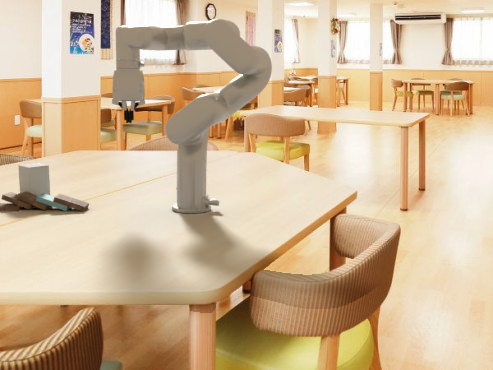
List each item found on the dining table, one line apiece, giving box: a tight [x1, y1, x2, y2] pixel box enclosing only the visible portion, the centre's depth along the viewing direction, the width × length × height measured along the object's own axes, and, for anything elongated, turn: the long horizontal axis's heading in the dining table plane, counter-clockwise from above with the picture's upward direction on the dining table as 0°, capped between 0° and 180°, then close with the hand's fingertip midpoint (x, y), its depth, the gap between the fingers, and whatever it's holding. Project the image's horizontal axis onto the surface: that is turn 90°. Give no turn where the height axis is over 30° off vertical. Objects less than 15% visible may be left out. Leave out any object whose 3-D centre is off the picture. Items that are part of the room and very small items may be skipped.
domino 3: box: [17, 191, 53, 211], centre depth 192 cm, size 2×5×10 cm
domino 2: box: [1, 191, 37, 210], centre depth 193 cm, size 2×5×10 cm
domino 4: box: [36, 193, 71, 212], centre depth 192 cm, size 2×5×10 cm
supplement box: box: [17, 162, 51, 196], centre depth 200 cm, size 7×7×13 cm
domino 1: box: [0, 202, 24, 212], centre depth 191 cm, size 2×5×10 cm
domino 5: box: [53, 193, 90, 212], centre depth 192 cm, size 2×5×10 cm
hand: (129, 122), depth 198 cm, fingers closed
